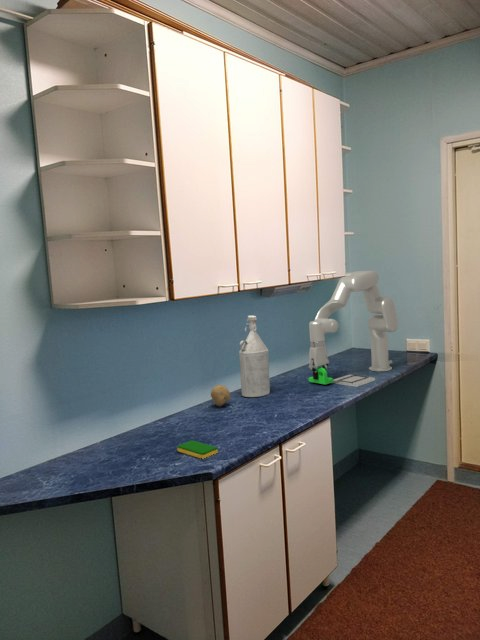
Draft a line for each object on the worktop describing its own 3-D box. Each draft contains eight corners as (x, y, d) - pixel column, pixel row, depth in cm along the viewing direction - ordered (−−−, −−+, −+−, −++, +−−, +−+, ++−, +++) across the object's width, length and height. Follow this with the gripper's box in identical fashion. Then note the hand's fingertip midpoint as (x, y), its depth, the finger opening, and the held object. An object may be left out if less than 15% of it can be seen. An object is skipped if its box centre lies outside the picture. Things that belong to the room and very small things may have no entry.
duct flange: (349, 377, 278) (349, 373, 278) (375, 380, 266) (374, 377, 266) (331, 382, 268) (331, 379, 268) (356, 386, 256) (356, 383, 256)
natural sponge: (224, 402, 244) (223, 381, 243) (234, 405, 236) (233, 384, 236) (208, 406, 239) (206, 385, 238) (218, 409, 232) (216, 388, 231)
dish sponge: (192, 446, 186) (191, 439, 186) (218, 453, 177) (217, 447, 176) (177, 452, 181) (176, 445, 181) (203, 460, 172) (202, 453, 171)
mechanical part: (333, 382, 265) (332, 367, 264) (325, 384, 261) (324, 369, 260) (316, 379, 274) (315, 364, 273) (308, 381, 271) (307, 366, 270)
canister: (234, 396, 253) (229, 317, 249) (257, 389, 266) (252, 313, 262) (254, 400, 244) (248, 318, 240) (276, 391, 257) (271, 314, 253)
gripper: (322, 341, 274) (325, 373, 276) (301, 346, 263) (303, 380, 265) (333, 342, 268) (336, 375, 270) (312, 347, 257) (315, 382, 259)
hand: (320, 377), depth 268 cm, fingers closed on mechanical part, 6 cm apart
